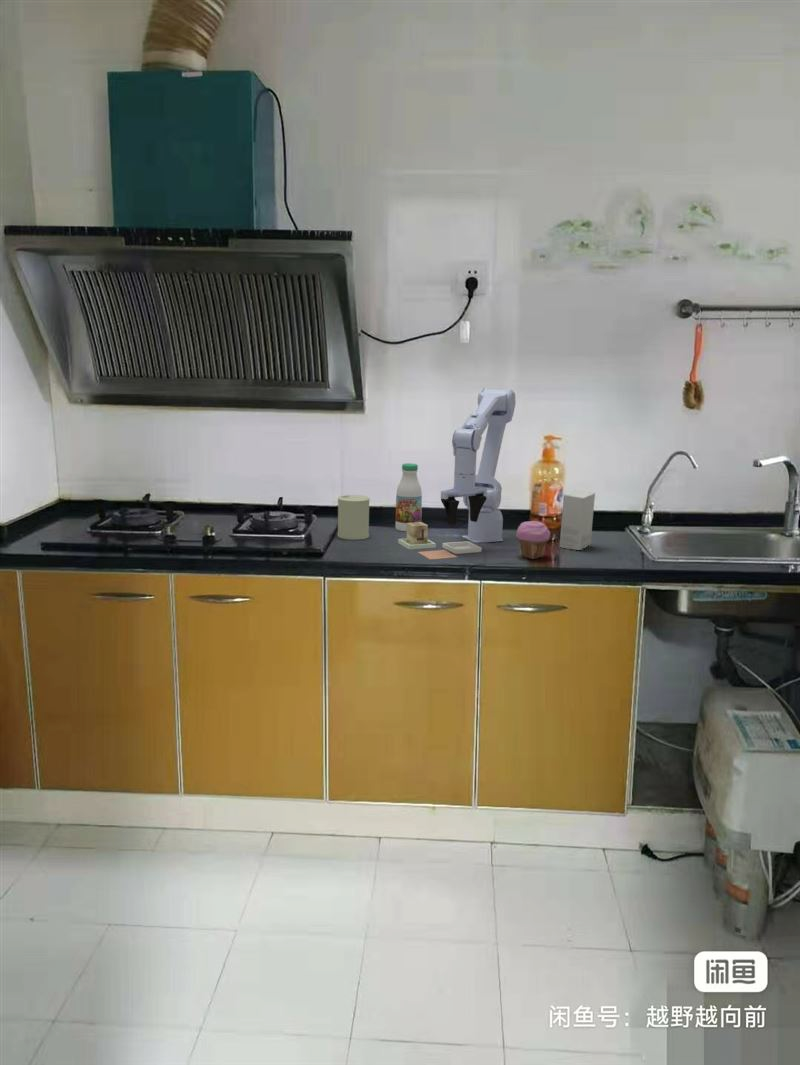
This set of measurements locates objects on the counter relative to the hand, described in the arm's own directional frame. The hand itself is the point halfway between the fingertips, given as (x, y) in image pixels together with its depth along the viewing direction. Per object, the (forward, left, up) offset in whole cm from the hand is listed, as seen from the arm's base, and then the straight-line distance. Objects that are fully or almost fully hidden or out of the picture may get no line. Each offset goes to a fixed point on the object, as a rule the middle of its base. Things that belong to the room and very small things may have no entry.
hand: (462, 522), depth 236 cm
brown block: (+10, -8, -8) cm, 15 cm away
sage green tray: (+10, -8, -8) cm, 15 cm away
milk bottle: (+4, -28, -8) cm, 29 cm away
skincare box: (-33, +6, -8) cm, 35 cm away
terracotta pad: (+9, +3, -8) cm, 12 cm away
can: (+23, -24, -8) cm, 34 cm away
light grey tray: (0, 0, -8) cm, 8 cm away
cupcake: (-15, +12, -8) cm, 21 cm away
